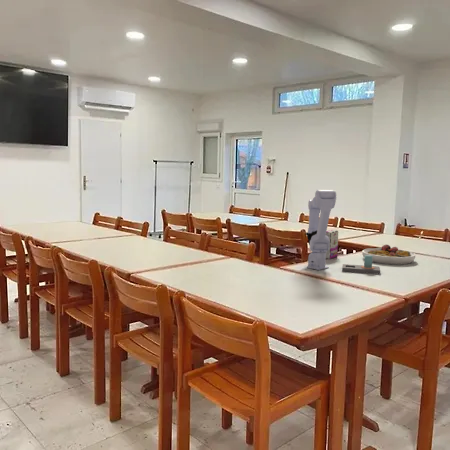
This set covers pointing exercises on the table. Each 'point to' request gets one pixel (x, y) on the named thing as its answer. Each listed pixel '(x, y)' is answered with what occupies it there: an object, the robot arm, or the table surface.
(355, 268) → the board with square hole
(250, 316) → the table surface
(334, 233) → the candy bar box
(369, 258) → the plug
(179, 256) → the table surface
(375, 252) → the bowl
